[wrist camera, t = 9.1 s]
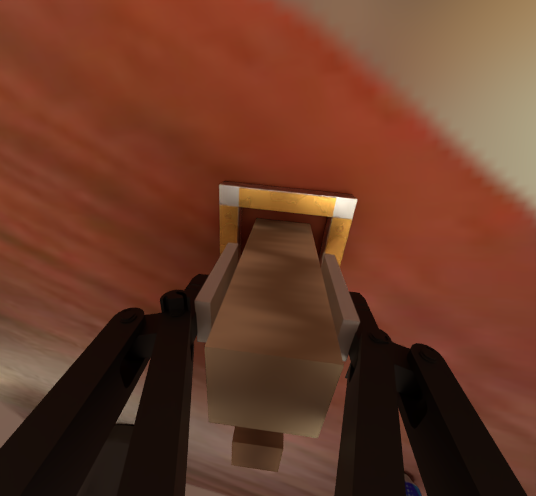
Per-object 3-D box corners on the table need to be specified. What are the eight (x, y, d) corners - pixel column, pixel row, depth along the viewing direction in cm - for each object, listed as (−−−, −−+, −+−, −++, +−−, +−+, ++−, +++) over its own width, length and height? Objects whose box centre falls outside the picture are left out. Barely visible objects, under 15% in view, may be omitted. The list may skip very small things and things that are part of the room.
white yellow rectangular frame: (224, 394, 30) (221, 407, 29) (224, 181, 18) (218, 185, 16) (298, 405, 30) (299, 418, 28) (352, 194, 17) (358, 199, 16)
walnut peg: (245, 384, 29) (231, 465, 22) (247, 360, 27) (232, 441, 20) (280, 389, 29) (277, 472, 22) (284, 365, 27) (283, 449, 20)
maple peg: (253, 264, 21) (208, 422, 9) (256, 217, 19) (204, 346, 7) (301, 269, 21) (317, 438, 9) (310, 223, 19) (344, 365, 7)
